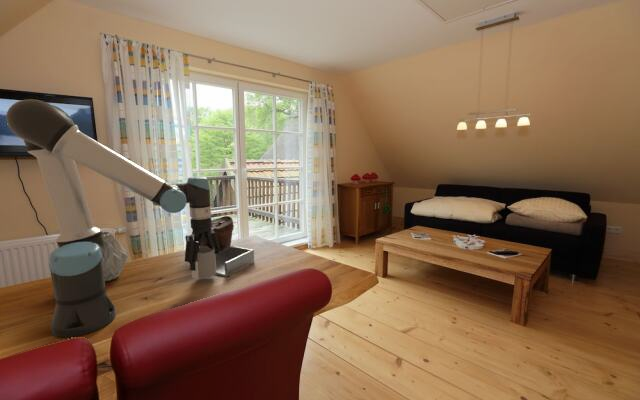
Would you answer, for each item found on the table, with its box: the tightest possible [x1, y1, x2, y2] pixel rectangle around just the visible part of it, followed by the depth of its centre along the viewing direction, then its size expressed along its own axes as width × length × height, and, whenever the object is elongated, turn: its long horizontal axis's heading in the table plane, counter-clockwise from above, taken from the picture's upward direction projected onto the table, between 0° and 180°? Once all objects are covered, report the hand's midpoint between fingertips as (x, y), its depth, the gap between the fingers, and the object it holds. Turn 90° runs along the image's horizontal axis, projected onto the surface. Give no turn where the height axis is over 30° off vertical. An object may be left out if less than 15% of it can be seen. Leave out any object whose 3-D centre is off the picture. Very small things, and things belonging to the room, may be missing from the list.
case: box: [200, 215, 235, 252], centre depth 147 cm, size 18×20×18 cm
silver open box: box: [215, 245, 255, 278], centre depth 132 cm, size 18×12×6 cm
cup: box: [196, 246, 216, 279], centre depth 118 cm, size 8×8×10 cm
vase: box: [101, 231, 130, 282], centre depth 119 cm, size 16×16×18 cm
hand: (204, 273), depth 119 cm, fingers closed on cup, 8 cm apart
